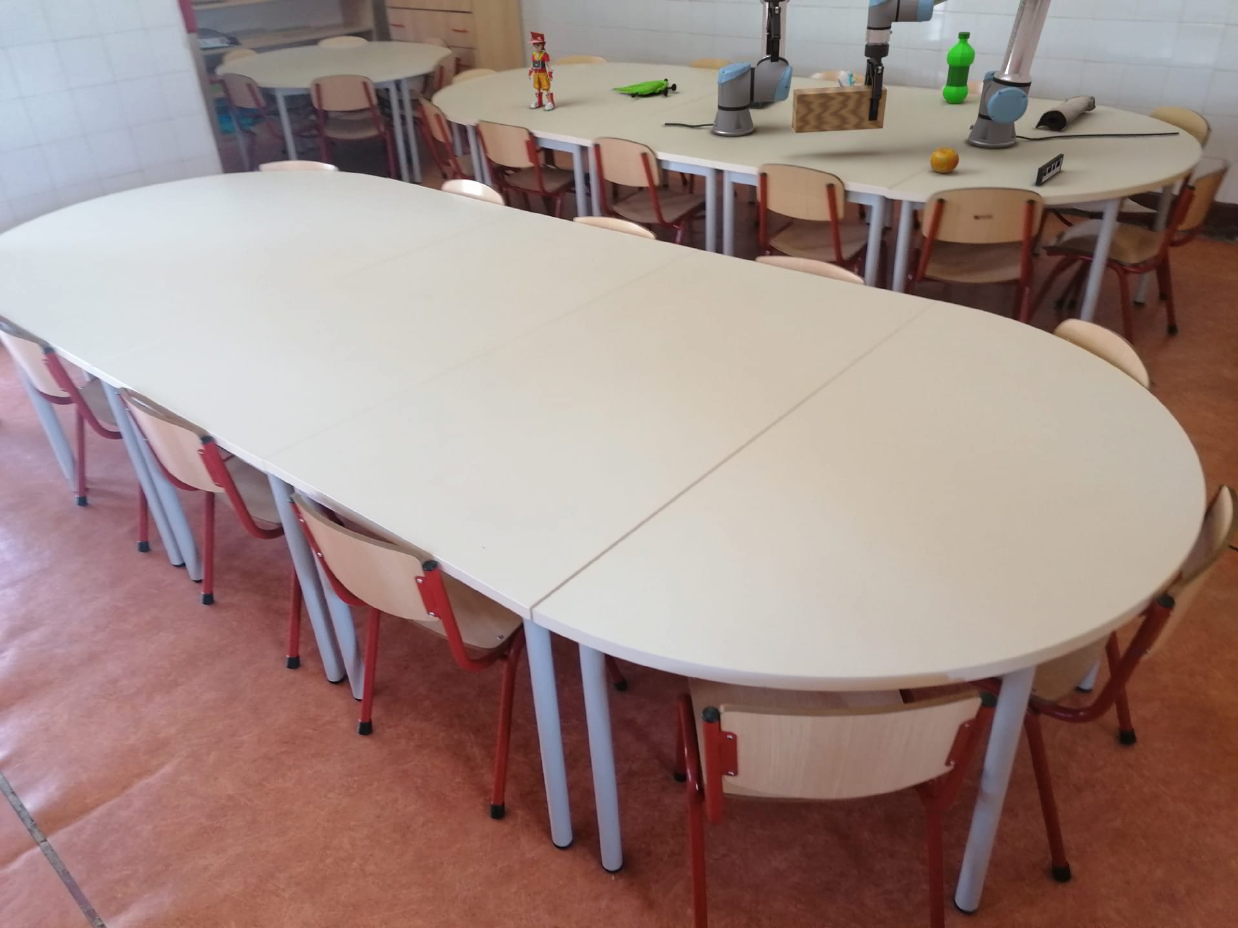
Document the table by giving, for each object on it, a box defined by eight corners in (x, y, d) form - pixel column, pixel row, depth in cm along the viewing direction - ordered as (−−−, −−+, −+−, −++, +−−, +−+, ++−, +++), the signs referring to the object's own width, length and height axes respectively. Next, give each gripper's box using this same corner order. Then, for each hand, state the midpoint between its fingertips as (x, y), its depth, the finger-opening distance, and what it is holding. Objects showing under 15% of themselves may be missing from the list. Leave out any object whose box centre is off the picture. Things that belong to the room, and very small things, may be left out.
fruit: (924, 163, 281) (941, 140, 278) (925, 165, 289) (941, 143, 286) (946, 178, 280) (963, 155, 277) (947, 180, 288) (963, 158, 285)
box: (795, 133, 299) (797, 94, 292) (791, 127, 305) (793, 89, 298) (882, 128, 298) (887, 89, 291) (877, 122, 304) (881, 84, 297)
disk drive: (760, 109, 361) (775, 100, 371) (761, 102, 360) (776, 93, 370) (737, 107, 366) (752, 98, 376) (737, 100, 364) (753, 91, 374)
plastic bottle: (973, 101, 354) (984, 32, 339) (955, 106, 349) (966, 36, 335) (952, 97, 361) (962, 29, 346) (934, 102, 356) (944, 33, 342)
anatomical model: (833, 70, 374) (857, 63, 373) (835, 95, 380) (859, 89, 379) (843, 78, 362) (868, 71, 361) (846, 104, 367) (870, 97, 367)
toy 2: (686, 85, 398) (631, 84, 414) (685, 72, 395) (629, 72, 411) (651, 104, 381) (596, 103, 397) (650, 92, 378) (594, 91, 394)
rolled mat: (1063, 100, 336) (1087, 83, 328) (1076, 121, 336) (1101, 104, 328) (1031, 122, 319) (1056, 104, 310) (1045, 143, 319) (1071, 126, 311)
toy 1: (525, 109, 381) (517, 32, 364) (534, 104, 388) (527, 28, 371) (550, 110, 377) (543, 32, 360) (559, 105, 384) (553, 28, 367)
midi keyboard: (1039, 185, 269) (1043, 168, 266) (1035, 184, 270) (1038, 168, 267) (1060, 170, 279) (1064, 154, 277) (1056, 169, 280) (1060, 153, 277)
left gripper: (791, -8, 282) (788, 64, 293) (782, -17, 302) (778, 51, 314) (767, -7, 282) (765, 65, 294) (759, -16, 303) (757, 52, 314)
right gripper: (897, 48, 278) (888, 124, 291) (881, 36, 295) (874, 109, 307) (872, 50, 278) (865, 126, 291) (858, 38, 295) (852, 110, 308)
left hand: (772, 58), depth 304 cm, fingers open, 13 cm apart
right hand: (869, 117), depth 299 cm, fingers closed on box, 8 cm apart
